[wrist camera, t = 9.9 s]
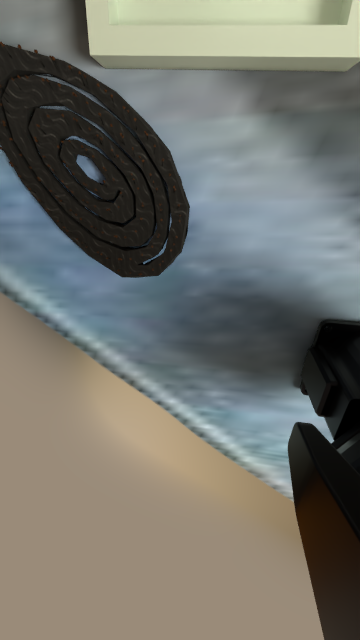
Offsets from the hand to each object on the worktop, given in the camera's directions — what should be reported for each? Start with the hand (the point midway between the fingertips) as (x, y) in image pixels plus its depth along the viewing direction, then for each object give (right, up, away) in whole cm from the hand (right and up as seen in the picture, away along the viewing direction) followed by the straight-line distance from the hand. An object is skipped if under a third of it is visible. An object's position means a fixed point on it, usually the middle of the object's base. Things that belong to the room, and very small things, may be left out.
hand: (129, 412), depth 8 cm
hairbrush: (-8, +16, +8) cm, 19 cm away
